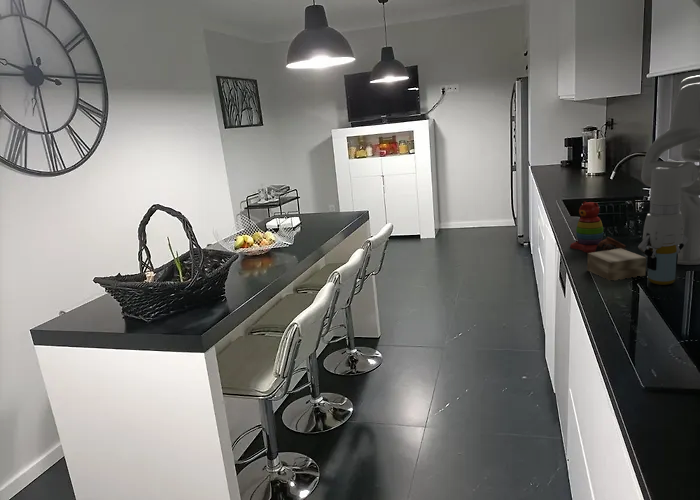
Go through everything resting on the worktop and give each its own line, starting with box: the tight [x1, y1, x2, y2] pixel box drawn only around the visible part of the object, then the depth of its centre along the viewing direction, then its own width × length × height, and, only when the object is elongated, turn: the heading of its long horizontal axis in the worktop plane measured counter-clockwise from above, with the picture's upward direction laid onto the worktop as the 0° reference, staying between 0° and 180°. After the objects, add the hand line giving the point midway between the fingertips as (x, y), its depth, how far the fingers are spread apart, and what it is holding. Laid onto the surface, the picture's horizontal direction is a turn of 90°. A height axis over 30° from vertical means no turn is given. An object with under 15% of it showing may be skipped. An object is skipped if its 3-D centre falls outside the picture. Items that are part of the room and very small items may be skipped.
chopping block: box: [586, 248, 647, 281], centre depth 170 cm, size 12×12×6 cm
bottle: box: [647, 235, 677, 286], centre depth 156 cm, size 7×7×15 cm
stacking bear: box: [569, 201, 604, 254], centre depth 198 cm, size 11×10×18 cm
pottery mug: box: [595, 236, 627, 252], centre depth 186 cm, size 12×10×8 cm
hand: (662, 266), depth 157 cm, fingers closed on bottle, 6 cm apart
